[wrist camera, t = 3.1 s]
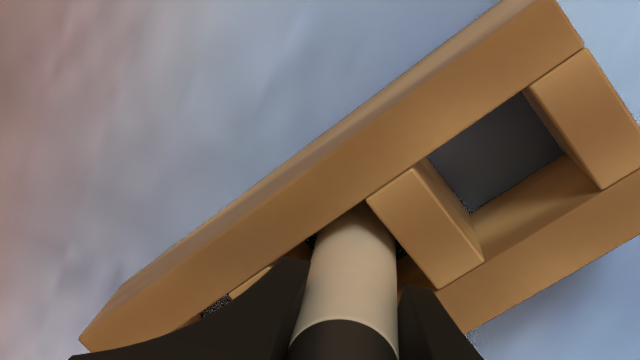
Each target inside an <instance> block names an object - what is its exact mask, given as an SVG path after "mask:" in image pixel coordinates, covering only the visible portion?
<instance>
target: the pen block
mask: <svg viewBox="0 0 640 360" xmlns="http://www.w3.org/2000/svg"><path fill="white" fill-rule="evenodd" d="M520 91H521V92H522V93H523V95H524V96H525V98H526V99H527V101H528V102H529V103H530V105H531V106H532V108H533V109H534V111H535V112H536V113H537V115H538V116H539V118H540V119H541V120H542V122H543V123H544V125H545V126H546V128H547V129H548V130H549V132H550V133H551V135H552V136H553V138H554V139H555V140H556V142H557V143H558V145H559V146H560V147H561V149H562V150H563V152H564V153H565V154H563V155H562V156H560V157H559V158H557V159H555V160H554V161H552V162H551V163H549V164H548V165H546V166H544V167H543V168H541V169H540V170H538V171H537V172H535V173H534V174H532V175H530V176H529V177H527V178H526V179H524V180H523V181H521V182H519V183H518V184H516V185H515V186H513V187H512V188H510V189H509V190H507V191H505V192H504V193H502V194H501V195H499V196H498V197H496V198H495V199H493V200H491V201H490V202H488V203H487V204H485V205H484V206H482V207H480V208H479V209H477V210H476V211H474V212H473V213H471V214H469V212H468V210H467V209H466V208H465V207H464V205H463V204H462V203H461V201H460V200H459V199H458V197H457V196H456V195H455V193H454V192H453V191H452V190H451V188H450V187H449V186H448V184H447V183H446V182H445V180H444V179H443V178H442V177H441V175H440V174H439V173H438V171H437V170H436V169H435V167H434V166H433V165H432V164H431V162H430V161H429V160H428V158H427V157H426V156H427V155H429V154H430V153H432V152H433V151H434V150H436V149H437V148H439V147H440V146H442V145H443V144H445V143H446V142H447V141H449V140H450V139H452V138H453V137H455V136H456V135H458V134H459V133H460V132H462V131H463V130H465V129H466V128H468V127H469V126H471V125H472V124H473V123H475V122H476V121H478V120H479V119H481V118H482V117H484V116H485V115H487V114H488V113H489V112H491V111H492V110H494V109H495V108H497V107H498V106H500V105H501V104H502V103H504V102H505V101H507V100H508V99H510V98H511V97H513V96H514V95H515V94H517V93H518V92H520ZM365 198H366V199H365ZM364 199H365V200H366V203H367V204H368V205H369V206H370V207H371V209H372V210H373V211H374V212H375V214H376V215H377V216H378V217H379V219H380V220H381V221H382V222H383V223H384V225H385V226H386V227H387V228H388V230H389V231H390V232H391V233H392V235H393V236H394V237H395V238H396V239H397V241H398V242H399V243H400V244H401V246H402V247H403V248H404V249H405V251H406V252H407V253H408V254H407V255H406V256H404V257H402V258H401V259H399V260H398V261H396V276H397V308H398V304H399V301H400V297H401V294H402V290H403V287H404V283H406V284H410V285H415V286H419V287H423V288H428V289H431V290H432V291H433V292H434V294H435V295H436V296H437V298H438V299H439V301H440V302H441V303H442V305H443V306H444V308H445V309H446V311H447V312H448V314H449V315H450V316H451V318H452V319H453V321H454V322H455V323H456V325H457V326H458V327H459V329H460V330H461V331H462V333H463V334H464V335H465V334H467V333H468V332H470V331H472V330H474V329H475V328H477V327H479V326H481V325H482V324H484V323H486V322H488V321H489V320H491V319H493V318H495V317H496V316H498V315H500V314H502V313H503V312H505V311H507V310H509V309H510V308H512V307H514V306H515V305H517V304H519V303H521V302H522V301H524V300H526V299H528V298H529V297H531V296H533V295H535V294H536V293H538V292H540V291H542V290H543V289H545V288H547V287H549V286H550V285H552V284H554V283H556V282H557V281H559V280H561V279H563V278H564V277H566V276H568V275H570V274H571V273H573V272H575V271H577V270H578V269H580V268H582V267H584V266H585V265H587V264H589V263H591V262H592V261H594V260H596V259H597V258H599V257H601V256H603V255H604V254H606V253H608V252H610V251H611V250H613V249H615V248H617V247H618V246H620V245H622V244H624V243H625V242H627V241H629V240H631V239H632V238H634V237H636V236H638V235H639V234H640V127H639V125H638V123H637V122H636V120H635V119H634V117H633V116H632V114H631V113H630V111H629V110H628V108H627V107H626V105H625V104H624V102H623V101H622V99H621V98H620V96H619V95H618V93H617V92H616V90H615V89H614V87H613V86H612V84H611V83H610V81H609V80H608V78H607V77H606V75H605V74H604V72H603V71H602V69H601V68H600V66H599V65H598V63H597V62H596V60H595V59H594V57H593V55H592V54H591V52H590V51H589V49H587V48H585V47H584V42H583V40H582V39H581V37H580V36H579V34H578V33H577V31H576V30H575V28H574V27H573V25H572V24H571V22H570V21H569V19H568V18H567V16H566V15H565V13H564V12H563V10H562V9H561V7H560V6H559V4H558V2H557V1H556V0H501V1H499V2H498V3H497V4H495V5H494V6H493V7H491V8H490V9H489V10H487V11H486V12H485V13H483V14H482V15H481V16H479V17H478V18H477V19H475V20H474V21H473V22H471V23H470V24H469V25H467V26H466V27H465V28H463V29H462V30H461V31H459V32H458V33H457V34H455V35H454V36H453V37H451V38H450V39H449V40H447V41H446V42H445V43H443V44H442V45H441V46H439V47H438V48H437V49H435V50H434V51H433V52H431V53H430V54H429V55H427V56H426V57H425V58H423V59H422V60H421V61H419V62H418V63H417V64H415V65H414V66H413V67H411V68H410V69H409V70H407V71H406V72H405V73H403V74H402V75H401V76H399V77H398V78H397V79H395V80H394V81H393V82H391V83H390V84H389V85H387V86H386V87H385V88H383V89H382V90H381V91H379V92H378V93H377V94H375V95H374V96H373V97H371V98H370V99H369V100H367V101H366V102H365V103H363V104H362V105H361V106H359V107H358V108H357V109H355V110H354V111H353V112H351V113H350V114H349V115H347V116H346V117H345V118H343V119H342V120H341V121H339V122H338V123H337V124H335V125H334V126H333V127H331V128H330V129H329V130H327V131H326V132H325V133H323V134H322V135H321V136H319V137H318V138H317V139H315V140H314V141H313V142H311V143H310V144H309V145H307V146H306V147H305V148H303V149H302V150H301V151H299V152H298V153H297V154H295V155H294V156H293V157H291V158H290V159H289V160H287V161H286V162H285V163H283V164H282V165H281V166H279V167H278V168H277V169H275V170H274V171H273V172H271V173H270V174H269V175H267V176H266V177H265V178H263V179H262V180H261V181H259V182H258V183H257V184H255V185H254V186H253V187H251V188H250V189H249V190H247V191H246V192H245V193H243V194H242V195H241V196H239V197H238V198H237V199H235V200H234V201H233V202H231V203H230V204H229V205H227V206H226V207H225V208H223V209H222V210H221V211H219V212H218V213H217V214H215V215H214V216H213V217H211V218H210V219H209V220H207V221H206V222H205V223H203V224H202V225H201V226H199V227H198V228H197V229H195V230H194V231H193V232H191V233H190V234H189V235H187V236H186V237H185V238H183V239H182V240H181V241H179V242H178V243H177V244H175V245H174V246H173V247H171V248H170V249H169V250H167V251H166V252H165V253H163V254H162V255H161V256H159V257H158V258H157V259H155V260H154V261H153V262H151V263H150V264H149V265H147V266H146V267H145V268H143V269H142V270H141V271H139V272H138V273H137V274H135V275H134V276H133V277H132V278H130V279H129V280H128V281H126V282H125V283H124V284H122V285H121V287H120V288H119V289H118V290H117V291H116V293H115V294H114V295H113V296H112V298H111V299H110V300H109V301H108V302H107V304H106V305H105V306H104V307H103V308H102V310H101V311H100V312H99V313H98V314H97V316H96V317H95V318H94V319H93V321H92V322H91V323H90V324H89V325H88V327H87V328H86V329H85V330H84V331H83V333H82V334H81V335H80V336H79V341H80V342H81V343H82V344H83V345H84V346H85V347H86V348H87V349H88V350H89V351H90V352H91V353H93V352H99V351H104V350H110V349H116V348H120V347H125V346H129V345H132V344H136V343H140V342H144V341H147V340H150V339H154V338H157V337H160V336H163V335H165V334H168V333H170V332H173V331H175V330H178V329H180V328H183V327H185V326H188V325H190V324H193V323H195V322H197V321H199V320H201V319H202V316H201V315H200V314H199V313H200V312H202V311H203V310H205V309H206V308H207V307H209V306H210V305H212V304H213V303H215V302H216V301H218V300H219V299H220V298H222V297H223V296H225V295H226V294H228V293H229V297H230V298H231V299H232V300H233V299H234V298H236V297H237V296H239V295H240V294H241V293H243V292H244V291H245V290H247V289H248V288H249V287H250V286H251V285H253V284H254V283H255V282H256V281H258V280H259V279H260V278H261V277H262V276H263V275H264V274H265V273H267V272H268V271H269V270H270V269H271V268H272V267H273V266H274V265H275V264H276V263H277V261H278V260H279V259H281V258H282V257H284V256H287V257H292V258H296V259H301V260H305V261H309V262H311V258H312V254H313V250H312V249H311V248H310V247H309V245H308V244H307V243H306V242H305V241H304V240H306V239H307V238H309V237H310V236H312V235H313V234H314V233H316V232H317V231H319V230H320V229H322V228H323V227H325V226H326V225H327V224H329V223H330V222H332V221H333V220H335V219H336V218H338V217H339V216H340V215H342V214H343V213H345V212H346V211H348V210H349V209H351V208H352V207H353V206H355V205H356V204H358V203H359V202H361V201H362V200H364Z"/></svg>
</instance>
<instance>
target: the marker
mask: <svg viewBox="0 0 640 360" xmlns="http://www.w3.org/2000/svg"><path fill="white" fill-rule="evenodd" d="M365 199H366V198H365ZM365 199H364V200H362V201H361V202H359V203H358V204H356V205H355V206H353V207H352V208H351V209H349V210H348V211H346V212H345V213H343V214H342V215H340V216H339V217H338V218H336V219H335V220H333V221H332V222H330V223H329V224H327V225H326V226H325V227H323V228H322V229H320V230H319V231H318V235H317V239H316V242H315V246H314V250H313V254H312V258H311V265H310V270H309V274H308V279H307V283H306V288H305V292H304V296H303V300H302V304H301V308H300V312H299V315H298V318H297V321H296V324H295V326H294V329H293V333H292V336H291V339H290V343H289V347H288V351H287V354H286V358H285V360H399V345H398V313H397V276H396V241H395V237H394V236H393V235H392V233H391V232H390V231H389V230H388V228H387V227H386V226H385V225H384V223H383V222H382V221H381V220H380V219H379V217H378V216H377V215H376V214H375V212H374V211H373V210H372V209H371V207H370V206H369V205H368V204H367V203H366V200H365Z"/></svg>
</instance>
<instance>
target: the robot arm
mask: <svg viewBox="0 0 640 360" xmlns="http://www.w3.org/2000/svg"><path fill="white" fill-rule="evenodd" d="M310 265H311V262H309V261H305V260H301V259H296V258H292V257H287V256H284V257H282V258H281V259H279V260H278V261H277V263H276V264H275V265H274V266H273V267H272V268H271V269H270V270H269V271H268V272H267V273H265V274H264V275H263V276H262V277H261V278H260V279H259V280H258V281H256V282H255V283H254V284H253V285H251V286H250V287H249V288H248V289H247V290H245V291H244V292H243V293H241V294H240V295H239V296H237V297H236V298H234V299H233V300H231V301H230V302H229V303H227V304H226V305H224V306H223V307H221V308H220V309H218V310H216V311H215V312H213V313H211V314H210V315H208V316H206V317H204V318H202V319H201V320H199V321H197V322H195V323H193V324H190V325H188V326H185V327H183V328H180V329H178V330H175V331H173V332H170V333H168V334H165V335H163V336H160V337H157V338H154V339H150V340H147V341H144V342H140V343H136V344H132V345H129V346H125V347H120V348H116V349H110V350H104V351H99V352H93V353H87V354H81V355H73V356H71V357H70V358H69V359H68V360H285V358H286V354H287V351H288V347H289V343H290V339H291V336H292V333H293V329H294V326H295V324H296V321H297V318H298V315H299V312H300V308H301V304H302V300H303V296H304V292H305V288H306V283H307V279H308V274H309V270H310ZM397 313H398V345H399V360H484V359H483V358H482V356H481V355H480V354H479V353H478V352H477V351H476V349H475V348H474V347H473V346H472V344H471V343H470V342H469V341H468V339H467V338H466V337H465V335H464V334H463V333H462V331H461V330H460V329H459V327H458V326H457V325H456V323H455V322H454V321H453V319H452V318H451V316H450V315H449V314H448V312H447V311H446V309H445V308H444V306H443V305H442V303H441V302H440V301H439V299H438V298H437V296H436V295H435V294H434V292H433V291H432V290H431V289H428V288H423V287H419V286H415V285H410V284H406V283H404V287H403V290H402V294H401V297H400V301H399V304H398V308H397Z"/></svg>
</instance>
